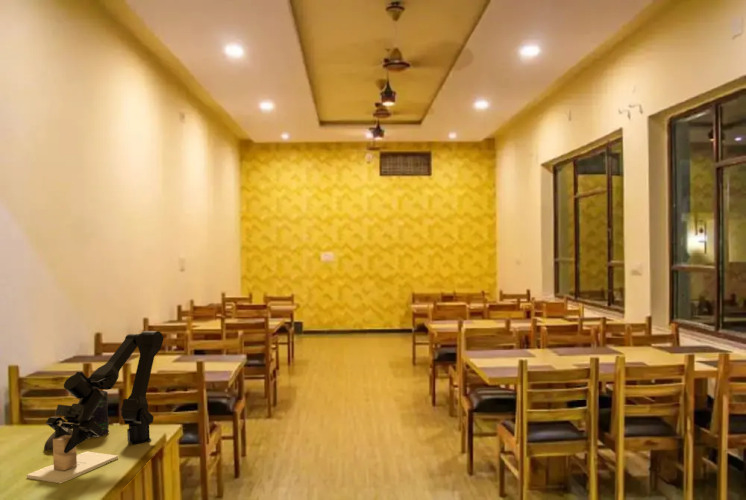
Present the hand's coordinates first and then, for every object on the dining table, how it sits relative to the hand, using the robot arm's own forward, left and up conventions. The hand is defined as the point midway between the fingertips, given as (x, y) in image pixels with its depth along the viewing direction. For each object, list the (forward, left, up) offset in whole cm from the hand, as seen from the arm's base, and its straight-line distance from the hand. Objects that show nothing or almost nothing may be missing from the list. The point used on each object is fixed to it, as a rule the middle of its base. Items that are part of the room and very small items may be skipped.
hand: (59, 451), depth 188 cm
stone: (-6, -28, -7) cm, 30 cm away
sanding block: (-2, -1, -6) cm, 6 cm away
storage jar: (-19, -38, -7) cm, 43 cm away
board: (-5, -3, -7) cm, 9 cm away
